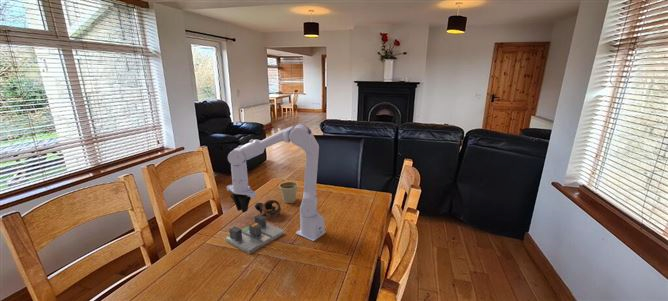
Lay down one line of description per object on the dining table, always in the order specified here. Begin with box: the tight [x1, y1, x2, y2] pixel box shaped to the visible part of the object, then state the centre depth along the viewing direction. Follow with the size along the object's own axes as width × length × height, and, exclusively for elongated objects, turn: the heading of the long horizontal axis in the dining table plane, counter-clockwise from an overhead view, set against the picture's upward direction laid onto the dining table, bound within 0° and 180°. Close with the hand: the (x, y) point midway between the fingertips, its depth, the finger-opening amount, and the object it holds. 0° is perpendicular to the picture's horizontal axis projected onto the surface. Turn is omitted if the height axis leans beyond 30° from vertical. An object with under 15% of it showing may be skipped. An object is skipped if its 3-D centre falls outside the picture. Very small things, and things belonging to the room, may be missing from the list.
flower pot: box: [278, 181, 299, 204], centre depth 144 cm, size 9×9×9 cm
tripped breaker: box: [248, 222, 261, 236], centre depth 111 cm, size 4×2×4 cm, turn 54°
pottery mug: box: [254, 199, 282, 221], centre depth 129 cm, size 12×10×8 cm
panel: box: [225, 213, 285, 255], centre depth 112 cm, size 14×17×5 cm
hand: (242, 210), depth 114 cm, fingers open, 2 cm apart
